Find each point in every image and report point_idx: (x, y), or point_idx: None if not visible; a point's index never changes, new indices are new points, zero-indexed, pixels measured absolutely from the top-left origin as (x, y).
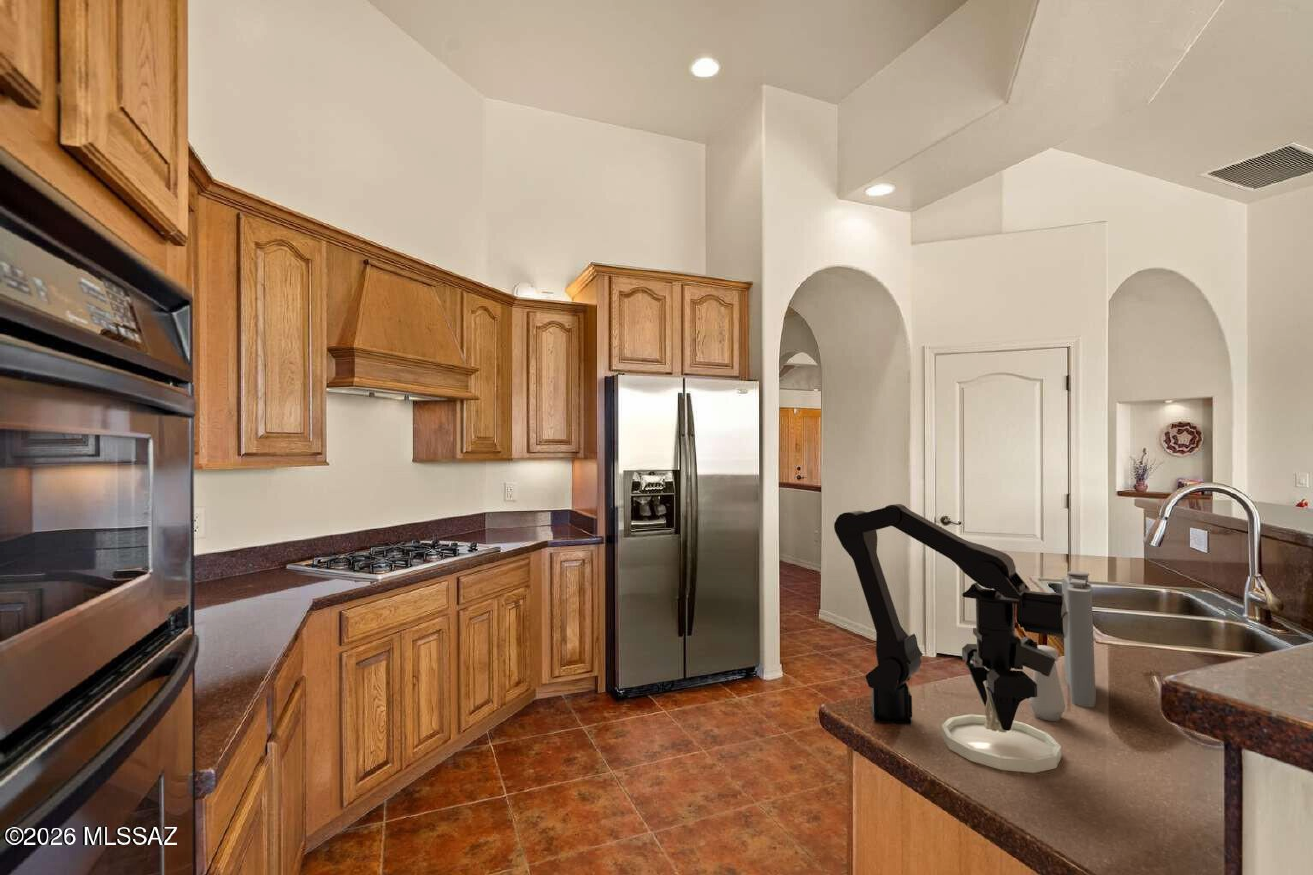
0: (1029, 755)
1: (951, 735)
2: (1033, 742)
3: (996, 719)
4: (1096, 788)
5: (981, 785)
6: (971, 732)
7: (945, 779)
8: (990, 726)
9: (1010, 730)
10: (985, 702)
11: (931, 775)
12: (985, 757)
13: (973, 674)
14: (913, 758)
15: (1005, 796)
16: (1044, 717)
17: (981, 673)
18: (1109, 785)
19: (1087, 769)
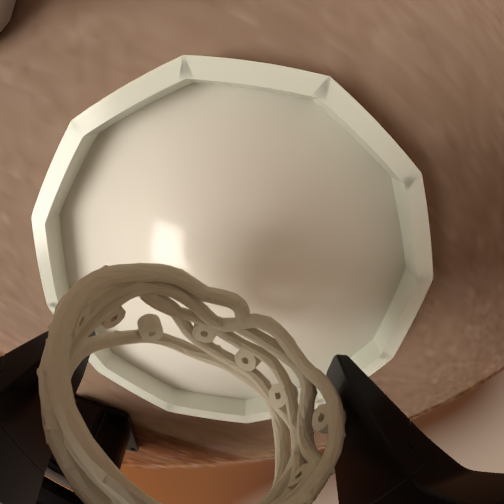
0: (333, 224)
1: (233, 415)
2: (207, 138)
3: (310, 414)
4: (499, 135)
5: (420, 385)
6: None
7: None
8: (270, 385)
9: (97, 182)
10: (84, 367)
11: None
12: None
13: (34, 491)
14: None
15: (462, 359)
16: (3, 24)
17: (13, 484)
18: (488, 82)
19: (407, 56)
